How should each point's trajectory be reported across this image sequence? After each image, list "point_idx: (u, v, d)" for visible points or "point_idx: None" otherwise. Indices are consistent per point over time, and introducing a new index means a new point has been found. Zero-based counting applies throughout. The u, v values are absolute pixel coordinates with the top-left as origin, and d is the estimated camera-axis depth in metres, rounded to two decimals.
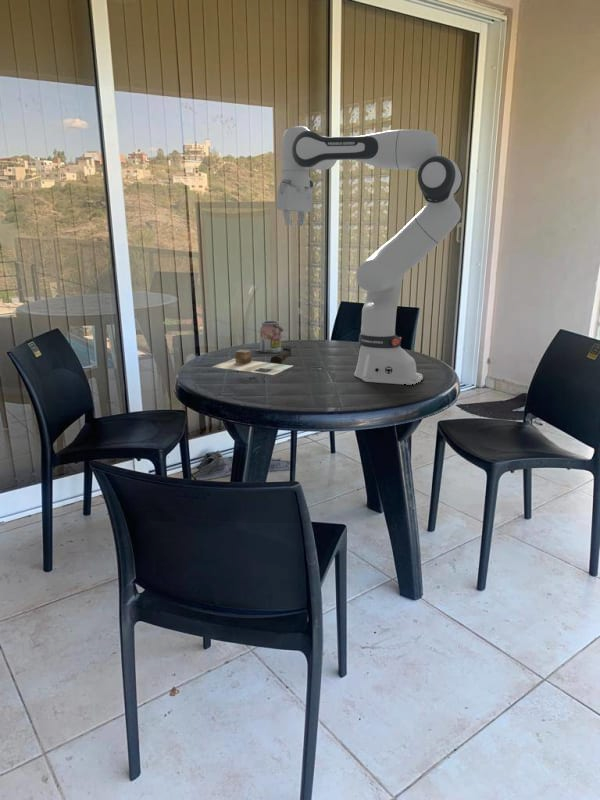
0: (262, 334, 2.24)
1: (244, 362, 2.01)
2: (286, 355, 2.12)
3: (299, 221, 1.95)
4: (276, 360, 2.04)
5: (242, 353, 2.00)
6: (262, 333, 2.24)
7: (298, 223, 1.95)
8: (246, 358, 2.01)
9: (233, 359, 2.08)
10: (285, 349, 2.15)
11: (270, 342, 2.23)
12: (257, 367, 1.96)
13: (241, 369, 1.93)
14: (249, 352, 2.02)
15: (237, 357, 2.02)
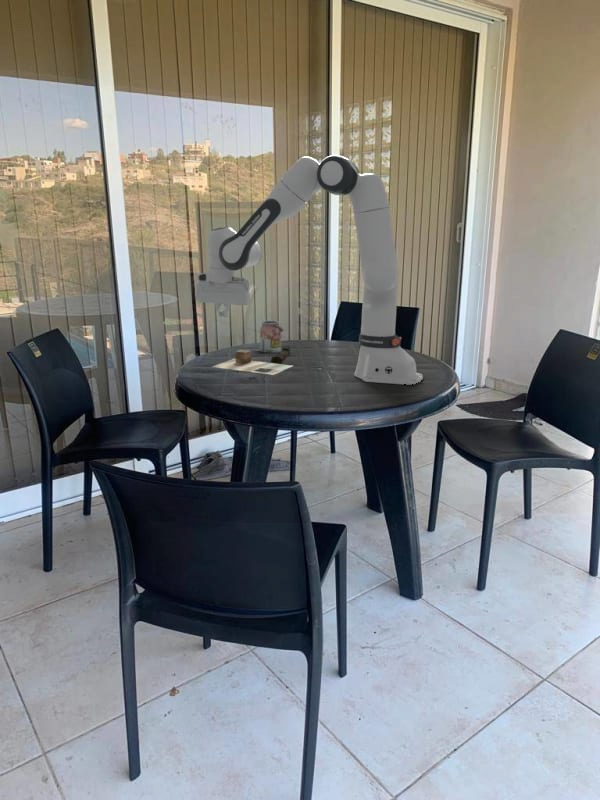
0: (262, 334, 2.24)
1: (244, 362, 2.01)
2: (286, 355, 2.12)
3: None
4: (277, 360, 2.04)
5: (242, 353, 2.00)
6: (262, 333, 2.24)
7: None
8: (246, 358, 2.01)
9: (233, 359, 2.08)
10: (284, 349, 2.15)
11: (270, 342, 2.23)
12: (257, 367, 1.96)
13: (241, 369, 1.93)
14: (249, 352, 2.02)
15: (237, 357, 2.02)
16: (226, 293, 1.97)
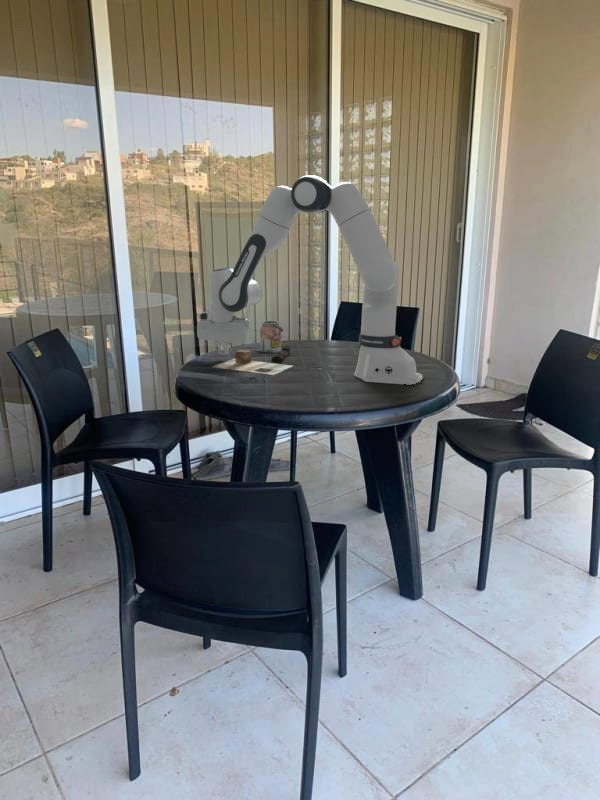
0: (262, 334, 2.24)
1: (244, 362, 2.01)
2: (286, 355, 2.12)
3: None
4: (277, 360, 2.04)
5: (242, 353, 2.00)
6: (262, 333, 2.24)
7: None
8: (246, 358, 2.01)
9: (233, 359, 2.08)
10: (284, 349, 2.15)
11: (270, 342, 2.23)
12: (257, 367, 1.96)
13: (241, 369, 1.93)
14: (249, 352, 2.02)
15: (237, 357, 2.02)
16: (227, 332, 2.01)
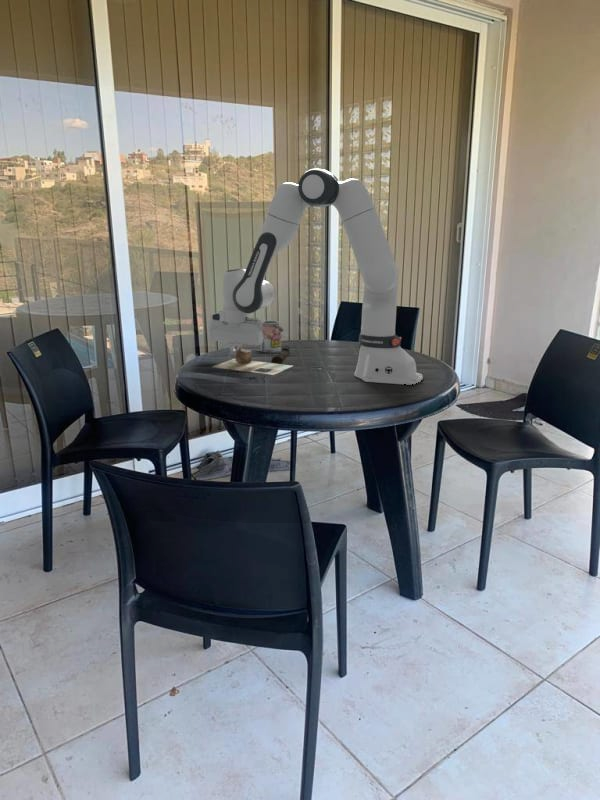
0: None
1: (244, 362, 2.01)
2: (286, 355, 2.12)
3: (235, 351, 2.04)
4: (277, 360, 2.04)
5: (243, 353, 2.00)
6: (262, 333, 2.24)
7: None
8: (247, 358, 2.01)
9: (233, 359, 2.08)
10: (284, 349, 2.15)
11: (270, 342, 2.23)
12: (257, 367, 1.96)
13: (241, 369, 1.93)
14: (250, 352, 2.02)
15: (238, 356, 2.01)
16: (239, 333, 1.99)
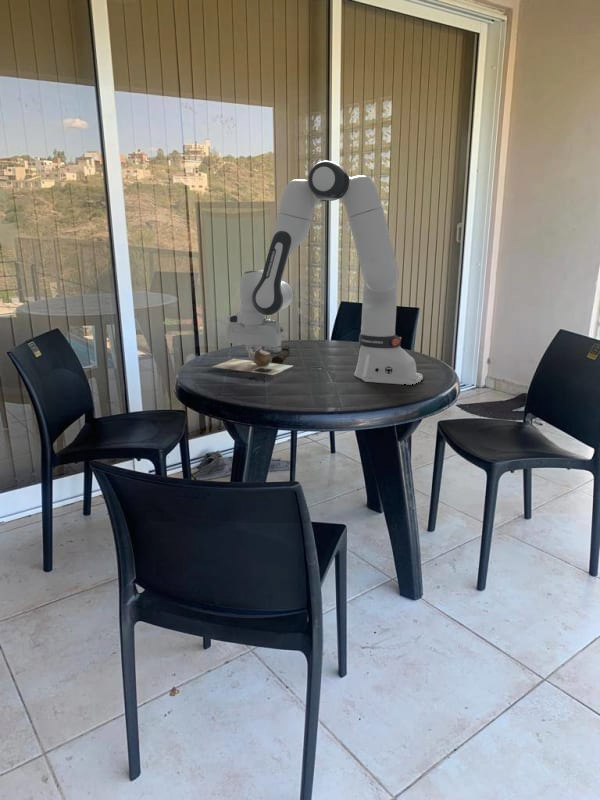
0: None
1: (262, 364, 1.98)
2: (286, 355, 2.12)
3: None
4: (277, 360, 2.04)
5: (262, 355, 1.97)
6: None
7: None
8: (265, 360, 1.98)
9: (233, 359, 2.08)
10: (284, 349, 2.15)
11: None
12: (257, 367, 1.96)
13: (241, 369, 1.93)
14: (269, 354, 1.99)
15: (256, 358, 1.98)
16: (257, 335, 1.96)
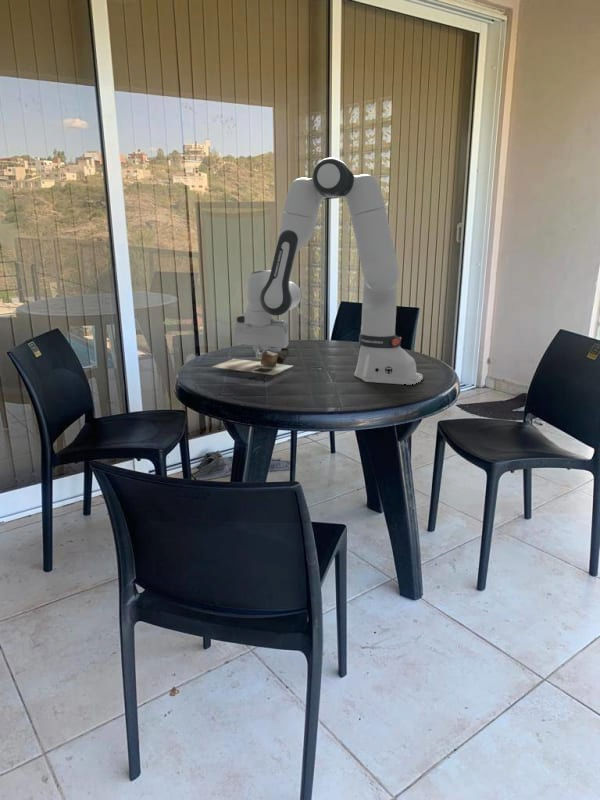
0: None
1: (270, 365, 1.97)
2: (285, 355, 2.12)
3: None
4: (278, 360, 2.04)
5: (269, 356, 1.96)
6: None
7: None
8: (273, 361, 1.97)
9: (233, 359, 2.08)
10: (283, 349, 2.15)
11: None
12: (257, 367, 1.96)
13: (241, 369, 1.93)
14: (276, 355, 1.98)
15: (263, 359, 1.97)
16: (265, 336, 1.95)
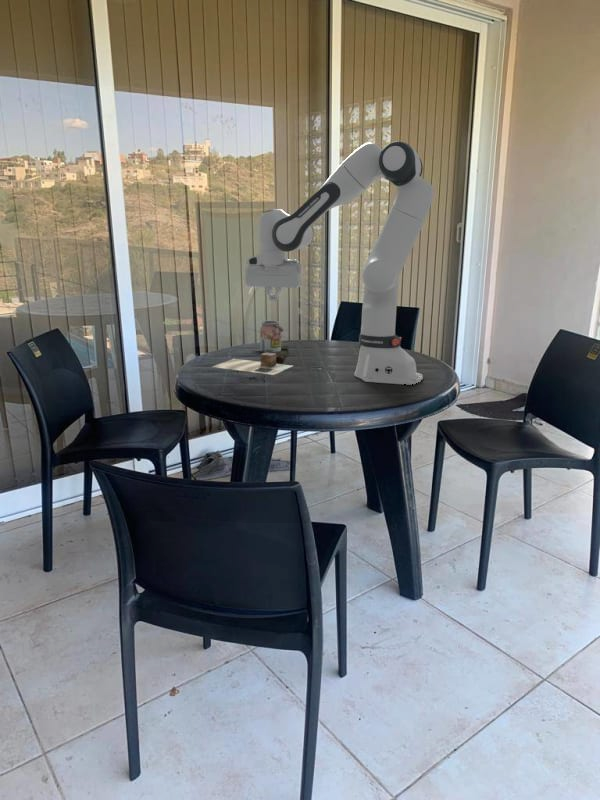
0: (262, 334, 2.24)
1: (269, 365, 1.97)
2: (285, 355, 2.12)
3: None
4: (278, 360, 2.04)
5: (267, 356, 1.96)
6: (262, 333, 2.24)
7: None
8: (272, 361, 1.97)
9: (233, 359, 2.08)
10: (283, 349, 2.15)
11: (270, 342, 2.23)
12: (257, 367, 1.96)
13: (241, 369, 1.93)
14: (274, 355, 1.98)
15: (262, 360, 1.97)
16: (277, 276, 1.95)
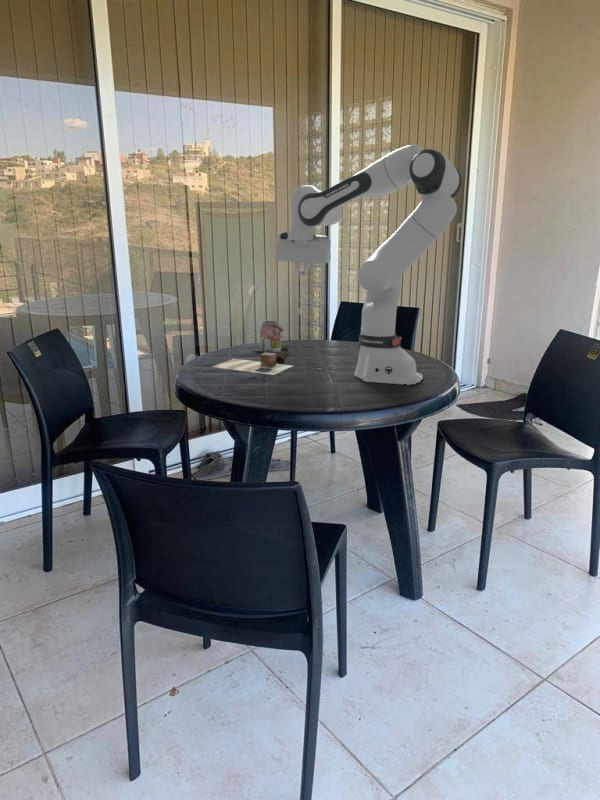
0: (262, 334, 2.24)
1: (269, 365, 1.97)
2: (286, 355, 2.12)
3: None
4: (279, 360, 2.04)
5: (267, 356, 1.96)
6: (262, 333, 2.24)
7: (301, 273, 2.05)
8: (272, 361, 1.97)
9: (233, 359, 2.08)
10: (283, 349, 2.15)
11: (270, 342, 2.23)
12: (257, 367, 1.96)
13: (241, 369, 1.93)
14: (274, 355, 1.98)
15: (262, 360, 1.97)
16: (307, 251, 2.01)
